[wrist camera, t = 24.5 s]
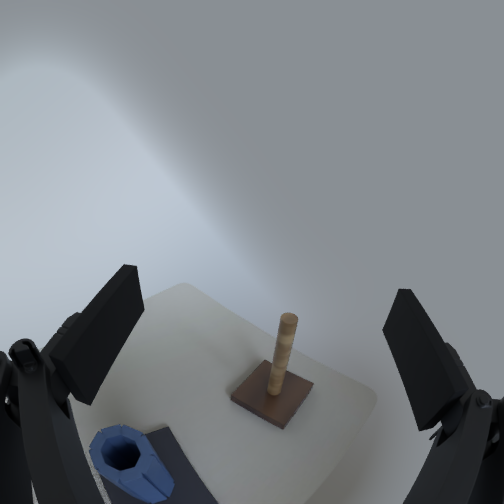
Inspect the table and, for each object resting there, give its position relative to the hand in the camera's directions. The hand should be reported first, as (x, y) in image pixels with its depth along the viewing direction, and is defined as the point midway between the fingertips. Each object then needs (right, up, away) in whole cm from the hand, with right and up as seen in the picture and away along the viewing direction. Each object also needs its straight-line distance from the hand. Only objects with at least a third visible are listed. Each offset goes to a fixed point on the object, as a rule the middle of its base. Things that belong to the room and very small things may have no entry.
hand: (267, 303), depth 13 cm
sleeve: (-13, -25, +8) cm, 29 cm away
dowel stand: (+2, -19, +24) cm, 31 cm away
